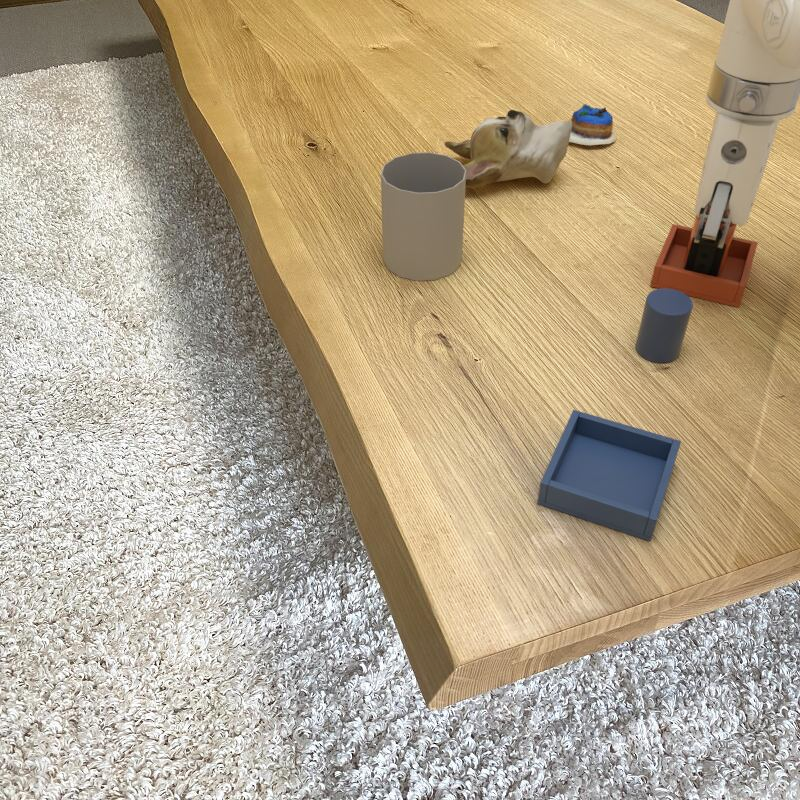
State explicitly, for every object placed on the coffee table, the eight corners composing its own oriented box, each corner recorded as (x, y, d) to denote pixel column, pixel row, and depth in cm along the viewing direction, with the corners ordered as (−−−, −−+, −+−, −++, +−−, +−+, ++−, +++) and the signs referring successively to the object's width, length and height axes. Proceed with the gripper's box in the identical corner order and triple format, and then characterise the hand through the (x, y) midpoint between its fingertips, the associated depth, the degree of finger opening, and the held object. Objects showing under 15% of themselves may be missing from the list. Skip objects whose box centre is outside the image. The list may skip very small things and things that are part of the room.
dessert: (632, 135, 108) (615, 103, 104) (596, 173, 109) (577, 143, 104) (593, 116, 114) (576, 85, 109) (559, 152, 114) (540, 123, 110)
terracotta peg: (726, 258, 86) (741, 211, 83) (720, 279, 84) (734, 231, 80) (687, 250, 88) (699, 203, 84) (679, 270, 85) (692, 222, 81)
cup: (370, 270, 87) (367, 183, 81) (400, 231, 93) (399, 146, 86) (446, 287, 85) (449, 199, 78) (472, 246, 91) (477, 160, 84)
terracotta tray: (751, 262, 88) (758, 241, 86) (738, 307, 82) (745, 286, 80) (667, 243, 91) (672, 223, 89) (649, 286, 85) (654, 266, 83)
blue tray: (674, 462, 67) (681, 440, 66) (650, 541, 61) (656, 520, 60) (569, 430, 70) (573, 409, 68) (536, 504, 64) (540, 482, 62)
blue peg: (683, 342, 78) (697, 294, 75) (674, 368, 76) (688, 319, 72) (640, 331, 80) (652, 283, 76) (630, 356, 77) (641, 308, 73)
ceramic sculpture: (578, 128, 91) (441, 134, 93) (573, 199, 97) (444, 204, 98) (569, 89, 99) (442, 95, 100) (564, 157, 105) (445, 162, 106)
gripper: (788, 135, 66) (728, 318, 79) (809, 60, 77) (753, 231, 90) (692, 118, 69) (648, 299, 81) (725, 47, 80) (683, 216, 92)
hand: (704, 262), depth 85 cm, fingers closed on terracotta peg, 4 cm apart
